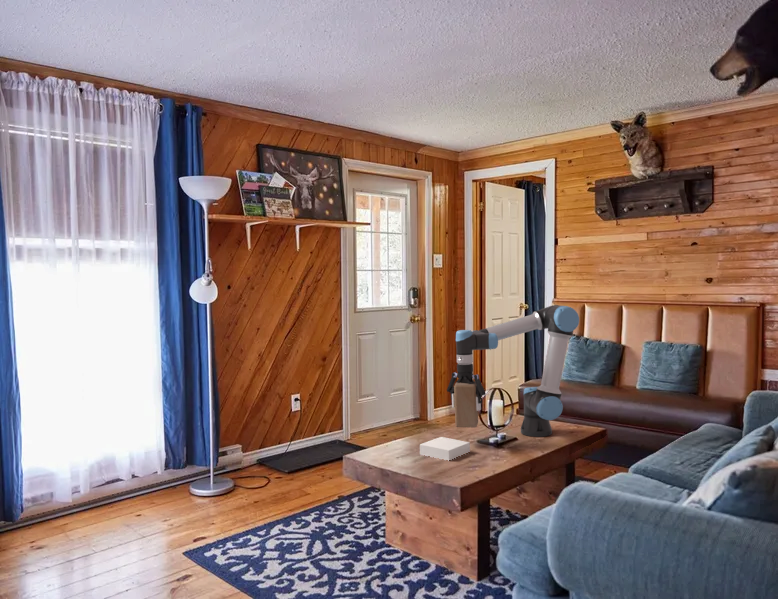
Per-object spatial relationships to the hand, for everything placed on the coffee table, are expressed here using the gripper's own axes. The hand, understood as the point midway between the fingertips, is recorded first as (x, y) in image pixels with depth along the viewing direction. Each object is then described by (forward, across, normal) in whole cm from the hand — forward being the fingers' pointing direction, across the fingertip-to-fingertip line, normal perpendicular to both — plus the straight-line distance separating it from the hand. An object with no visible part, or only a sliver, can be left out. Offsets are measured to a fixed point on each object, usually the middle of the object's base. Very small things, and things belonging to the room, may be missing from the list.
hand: (466, 408), depth 286 cm
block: (+8, 0, 0) cm, 8 cm away
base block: (+17, 0, -18) cm, 25 cm away
